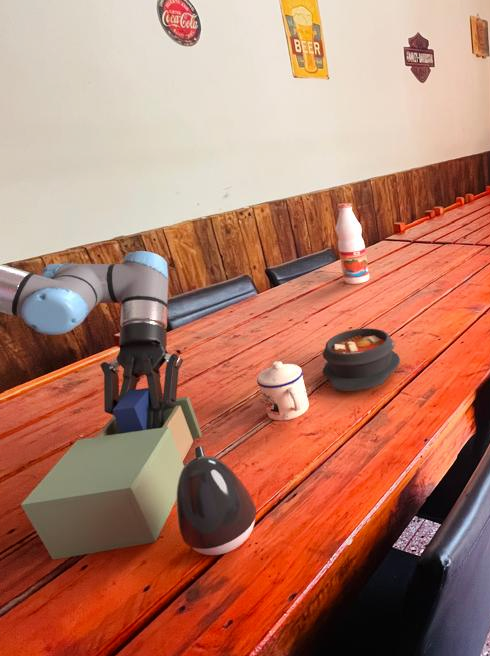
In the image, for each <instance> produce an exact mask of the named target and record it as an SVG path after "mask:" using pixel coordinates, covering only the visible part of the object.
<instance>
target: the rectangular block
mask: <svg viewBox="0 0 490 656" xmlns="http://www.w3.org/2000/svg"><path fill="white" fill-rule="evenodd" d="M150 407H151V400H150V394H149V388H148V387H146V388H145V387H144V388H136V390H129V391H128V393H127V394H126V395H125V396H124V397H123V398H122V400H121V401H120V402H119V403H118V404H117V405H116V407H115V408H114V409H113V410H112V411H113V413H114V415H115V418H116V420H117V422H118V425H119V427H120V429H121V432H122V433H128V432H135V431H143V430H146V428H147V411H153V409H151V408H150Z"/></svg>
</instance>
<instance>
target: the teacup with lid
mask: <svg viewBox="0 0 490 656" xmlns="http://www.w3.org/2000/svg"><path fill="white" fill-rule="evenodd" d="M303 374H304V372H303V369H302V367H300V366H299V365H297V364H294V363H283V362H282V361H280V360H276V361H273V362H272V364H271V366H270V367H267V368H265V369H264V370H262V371H261V372H260V373H259V374H258V375H257V379H256V383H257V385H258V386H259V389H260V393H261V396H262V400H263V403H264V407H265V410H266V414H267V417H269V418H270V419H272V420H274V421H289V420H294V419H296V418H298V417H300V416H302V415H303V414H305V413H306V412H307V410H308V409H309V408H310V407H309V406H310V402H309V397H308V394H307V390H306V386H305V382H304V378H303V377H304V376H303Z"/></svg>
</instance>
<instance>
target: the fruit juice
mask: <svg viewBox="0 0 490 656" xmlns="http://www.w3.org/2000/svg"><path fill="white" fill-rule="evenodd" d="M337 210H338V218H337V222H336V225H335V233H336V235H337V238H338V240H337V247H338V253H339V259H340V265H341V271H342V277H343V280H344V282H345V283H346V284H347V285H348V284H350V285H359V284H363V283H366V282H368V281H369V280H370V272H369V271H370V270H369V264H368V257H367V251H366V245H365V241H364V238H363V236H362V234H363V233H362V232H363V228H362V225H361V223H360V222H359V221H358V219H357V217H356V215H355V213H354V212H353V204H352V202H342V203H337Z"/></svg>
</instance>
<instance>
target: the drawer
mask: <svg viewBox="0 0 490 656" xmlns="http://www.w3.org/2000/svg"><path fill="white" fill-rule="evenodd" d="M195 413H196V412H195V411H194V407H193V405H192V402H191V400H190V397H189V396H184V397H176V405H175V407H174V408H169V409H167V410H166V411H165V412H164V425H163V427H162V428H164V427H169V428H170V431H171V434H172V436H173V439H174V442H175V444H176V447H177V449H178V452H179V454H180V457H181V460H182V462H183V463H184V461H185V458H186V456H187V455H188V453H189V451H190V449H191V447H192V446H193V444H194V440H196V439H201V438H202V436H203V433H202V430H201V428H200V425H199V424H200V423H199V422H198V418H197V416H196V414H195ZM114 434H117V433H116V418H115V416H114V415H112V416H111V418H110V419H108V422H106V424H105V425H104V426H103V427H102V428H101V430H100V431H99V432H98V433H97V434H96V436H95V437H100V436H107V435H114Z"/></svg>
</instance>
